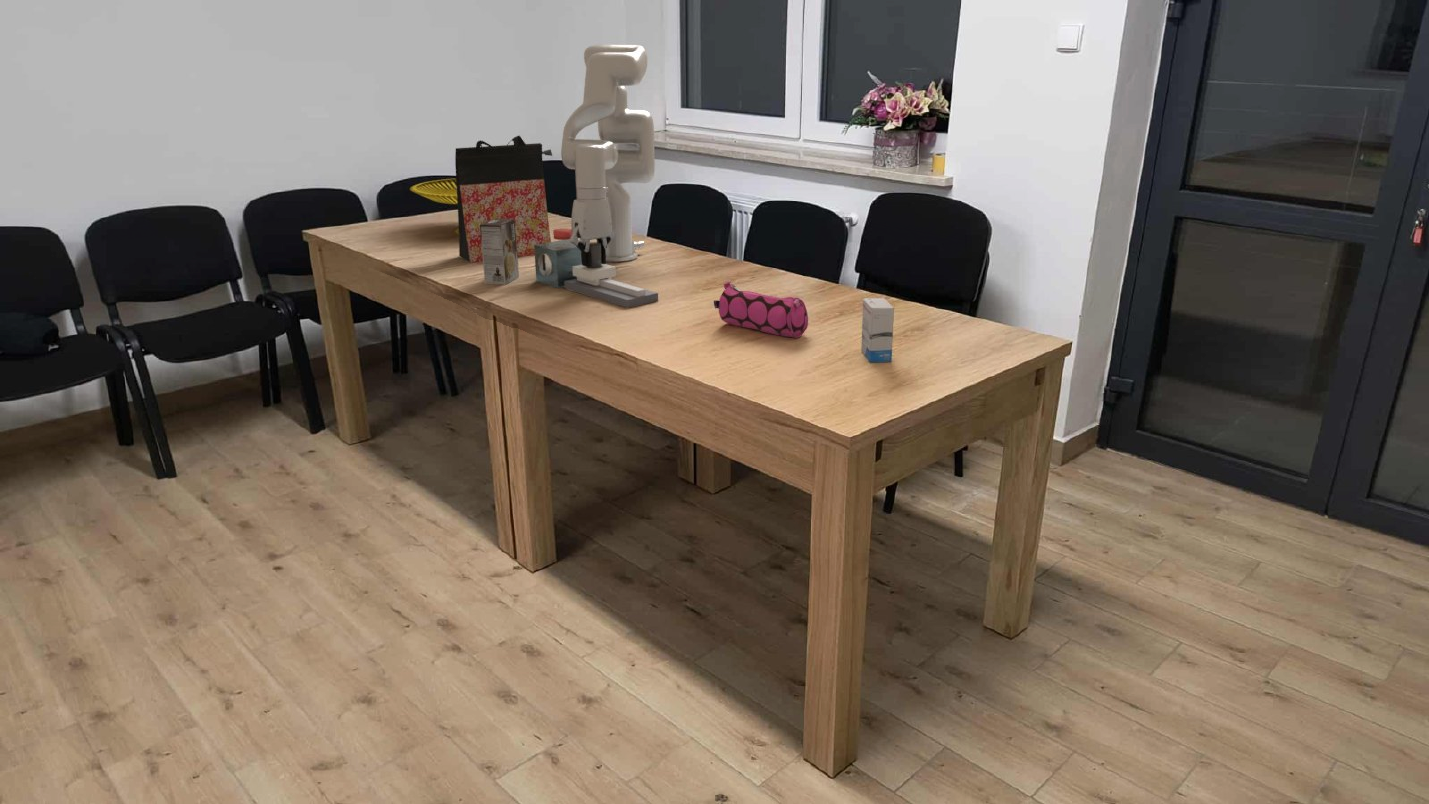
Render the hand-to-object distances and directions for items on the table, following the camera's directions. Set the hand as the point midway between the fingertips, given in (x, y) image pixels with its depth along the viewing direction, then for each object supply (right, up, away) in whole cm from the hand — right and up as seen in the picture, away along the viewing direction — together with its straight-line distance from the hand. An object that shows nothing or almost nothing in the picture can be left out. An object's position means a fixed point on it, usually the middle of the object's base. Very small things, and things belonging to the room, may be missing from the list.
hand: (593, 264), depth 255 cm
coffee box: (-26, -3, +12) cm, 29 cm away
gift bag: (-30, +9, +41) cm, 52 cm away
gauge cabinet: (-9, -3, +11) cm, 15 cm away
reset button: (-9, +8, +7) cm, 14 cm away
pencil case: (+42, -20, -30) cm, 56 cm away
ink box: (+66, -26, -48) cm, 85 cm away
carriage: (0, -4, +2) cm, 5 cm away
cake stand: (-48, +21, +74) cm, 91 cm away
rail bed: (+5, -8, -2) cm, 9 cm away
